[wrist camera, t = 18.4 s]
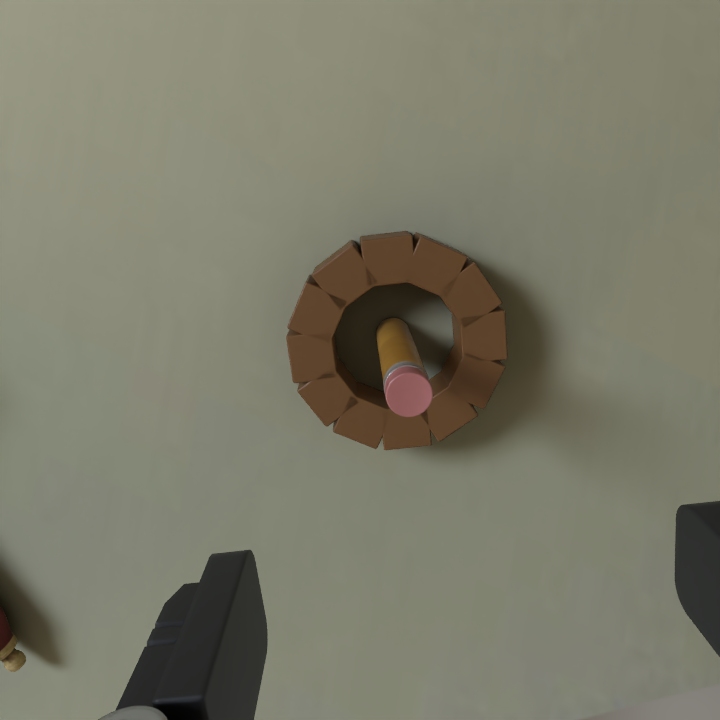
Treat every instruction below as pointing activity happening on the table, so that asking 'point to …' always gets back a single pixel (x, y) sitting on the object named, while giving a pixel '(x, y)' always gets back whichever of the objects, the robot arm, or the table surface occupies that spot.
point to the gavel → (9, 646)
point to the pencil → (402, 369)
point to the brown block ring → (450, 387)
